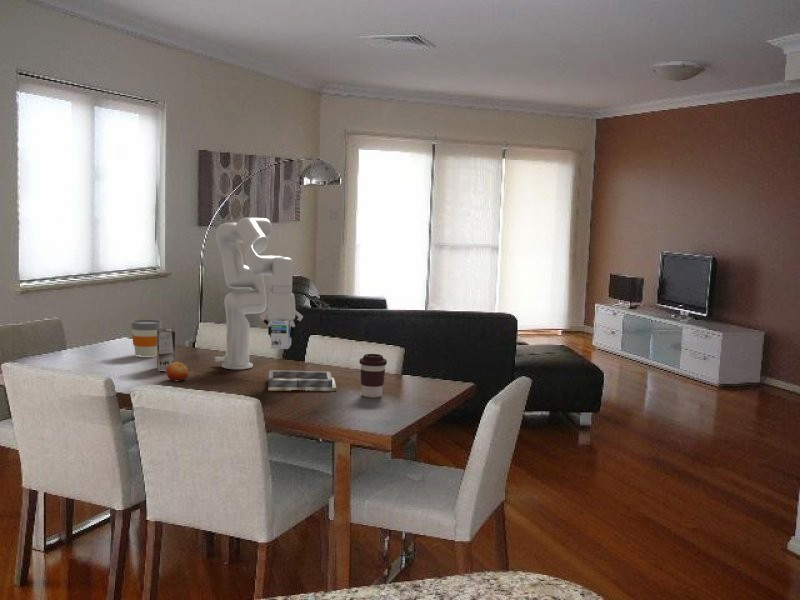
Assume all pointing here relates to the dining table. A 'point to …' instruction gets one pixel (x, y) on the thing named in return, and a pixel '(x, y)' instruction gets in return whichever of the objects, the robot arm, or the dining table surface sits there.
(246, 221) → the robot arm
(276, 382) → the gray shallow tray
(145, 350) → the reusable coffee cup
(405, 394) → the dining table surface
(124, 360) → the dining table surface
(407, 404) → the dining table surface
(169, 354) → the coffee box
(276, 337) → the light bulb box
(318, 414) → the dining table surface
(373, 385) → the coffee cup
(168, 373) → the fruit
